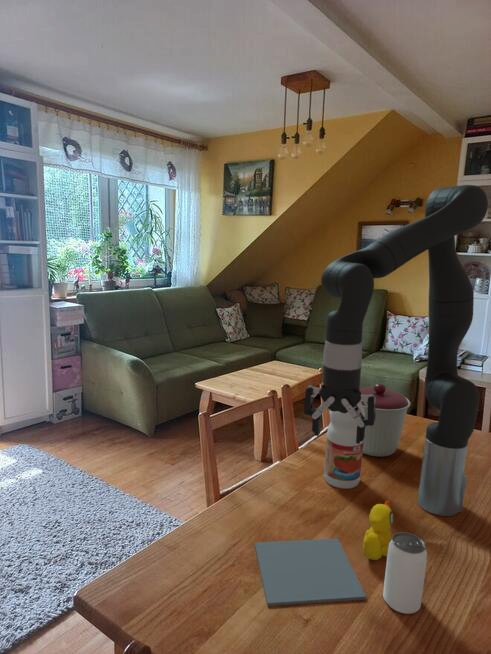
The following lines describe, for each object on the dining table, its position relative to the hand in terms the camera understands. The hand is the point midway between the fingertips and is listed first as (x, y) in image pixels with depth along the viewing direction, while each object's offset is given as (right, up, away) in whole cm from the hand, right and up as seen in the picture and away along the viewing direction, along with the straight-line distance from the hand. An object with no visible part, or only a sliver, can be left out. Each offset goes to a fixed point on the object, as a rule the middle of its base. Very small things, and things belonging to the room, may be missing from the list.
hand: (337, 438), depth 95 cm
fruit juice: (+7, -18, +28) cm, 34 cm away
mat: (-7, -24, -6) cm, 26 cm away
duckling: (+8, -24, 0) cm, 25 cm away
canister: (+20, -15, +46) cm, 53 cm away
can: (+9, -26, -12) cm, 31 cm away
